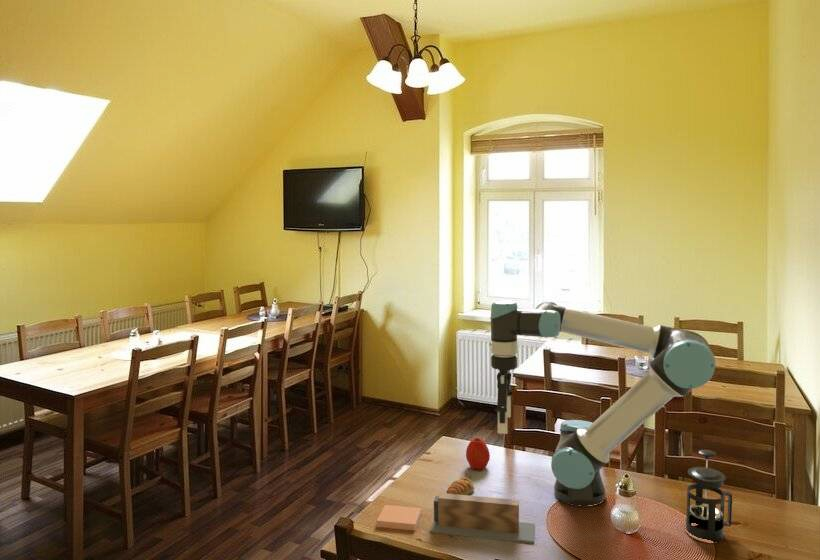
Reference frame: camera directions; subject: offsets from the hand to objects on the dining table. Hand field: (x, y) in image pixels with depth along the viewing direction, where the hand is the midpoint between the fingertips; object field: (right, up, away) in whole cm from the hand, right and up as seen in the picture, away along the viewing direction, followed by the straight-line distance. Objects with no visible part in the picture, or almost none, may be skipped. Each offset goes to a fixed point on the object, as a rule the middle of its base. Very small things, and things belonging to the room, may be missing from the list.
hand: (504, 424), depth 172 cm
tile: (-25, -25, -6) cm, 36 cm away
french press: (+52, -26, -16) cm, 60 cm away
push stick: (-9, -26, -10) cm, 29 cm away
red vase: (-5, -22, +29) cm, 36 cm away
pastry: (-12, -24, +11) cm, 29 cm away
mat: (-8, -26, -11) cm, 29 cm away
